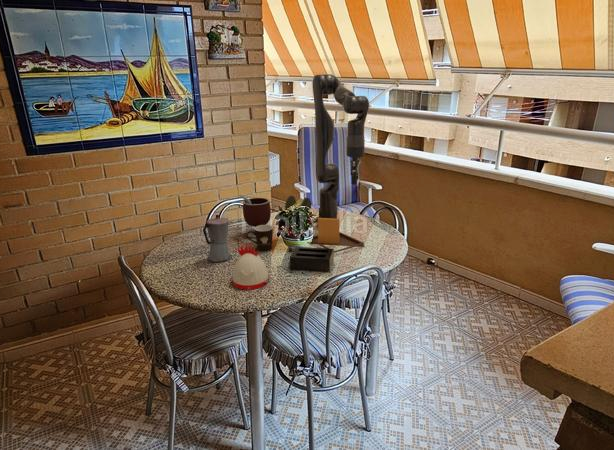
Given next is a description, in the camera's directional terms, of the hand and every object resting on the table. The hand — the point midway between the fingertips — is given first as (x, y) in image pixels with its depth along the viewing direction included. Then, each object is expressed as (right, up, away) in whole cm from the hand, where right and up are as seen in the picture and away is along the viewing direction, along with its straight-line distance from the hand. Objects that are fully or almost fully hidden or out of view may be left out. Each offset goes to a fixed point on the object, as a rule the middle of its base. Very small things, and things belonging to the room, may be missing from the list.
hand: (355, 182), depth 179 cm
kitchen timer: (-43, -41, -21) cm, 63 cm away
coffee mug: (-42, -30, +10) cm, 52 cm away
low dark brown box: (-19, -37, -12) cm, 43 cm away
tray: (-8, -28, +12) cm, 31 cm away
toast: (-11, -27, +13) cm, 32 cm away
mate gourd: (-46, -23, +29) cm, 59 cm away
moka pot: (-60, -34, -1) cm, 69 cm away
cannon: (-28, -16, +49) cm, 58 cm away
